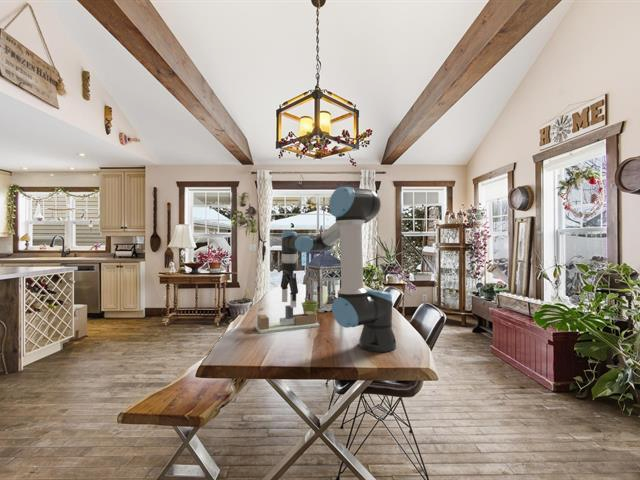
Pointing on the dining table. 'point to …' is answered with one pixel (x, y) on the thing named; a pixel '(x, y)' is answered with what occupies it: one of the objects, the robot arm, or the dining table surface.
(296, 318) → the board
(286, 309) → the slide bar
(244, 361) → the dining table surface
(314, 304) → the plant pot
